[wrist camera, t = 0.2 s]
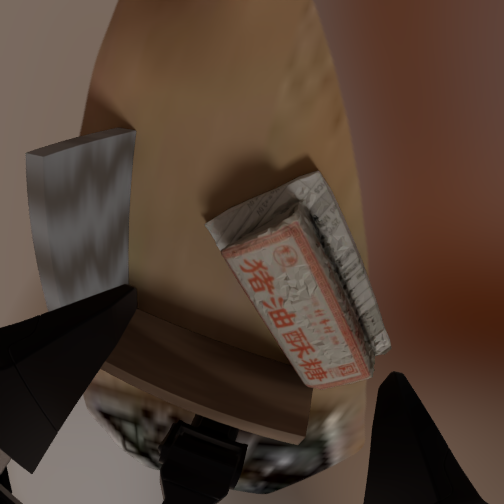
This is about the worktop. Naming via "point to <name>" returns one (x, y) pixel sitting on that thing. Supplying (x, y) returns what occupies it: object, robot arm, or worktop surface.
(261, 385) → the brown piece
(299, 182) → the packaged product
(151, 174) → the worktop surface
